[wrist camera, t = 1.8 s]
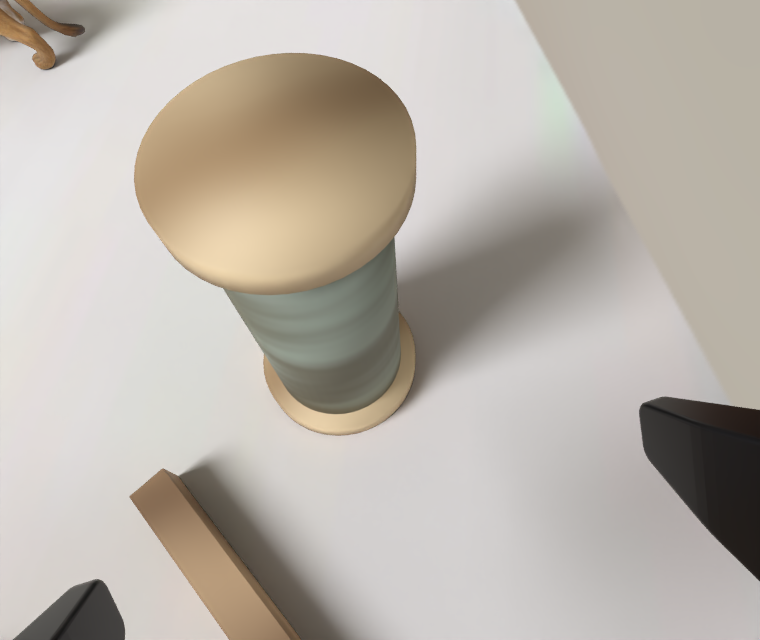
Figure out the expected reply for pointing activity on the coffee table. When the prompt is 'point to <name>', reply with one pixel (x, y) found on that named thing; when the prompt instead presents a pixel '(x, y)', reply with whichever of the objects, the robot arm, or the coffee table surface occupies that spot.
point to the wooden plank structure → (209, 561)
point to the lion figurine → (33, 31)
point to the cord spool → (295, 223)
